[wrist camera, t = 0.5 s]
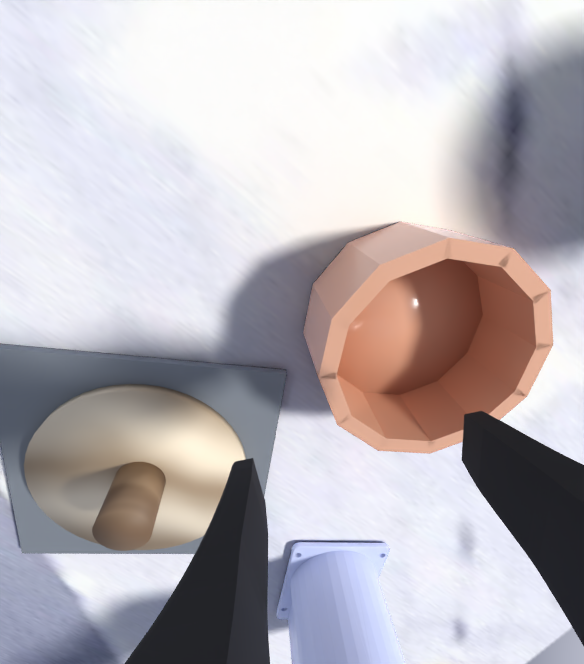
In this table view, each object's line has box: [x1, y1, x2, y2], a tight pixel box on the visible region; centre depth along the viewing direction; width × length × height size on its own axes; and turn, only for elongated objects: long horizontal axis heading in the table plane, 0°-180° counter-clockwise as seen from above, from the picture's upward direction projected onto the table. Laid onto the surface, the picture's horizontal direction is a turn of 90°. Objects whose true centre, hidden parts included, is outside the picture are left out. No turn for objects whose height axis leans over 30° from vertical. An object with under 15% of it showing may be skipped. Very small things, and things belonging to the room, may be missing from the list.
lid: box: [24, 384, 246, 551], centre depth 21 cm, size 13×13×4 cm
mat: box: [0, 344, 287, 554], centre depth 23 cm, size 16×16×1 cm
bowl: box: [303, 222, 553, 453], centre depth 19 cm, size 11×11×5 cm
